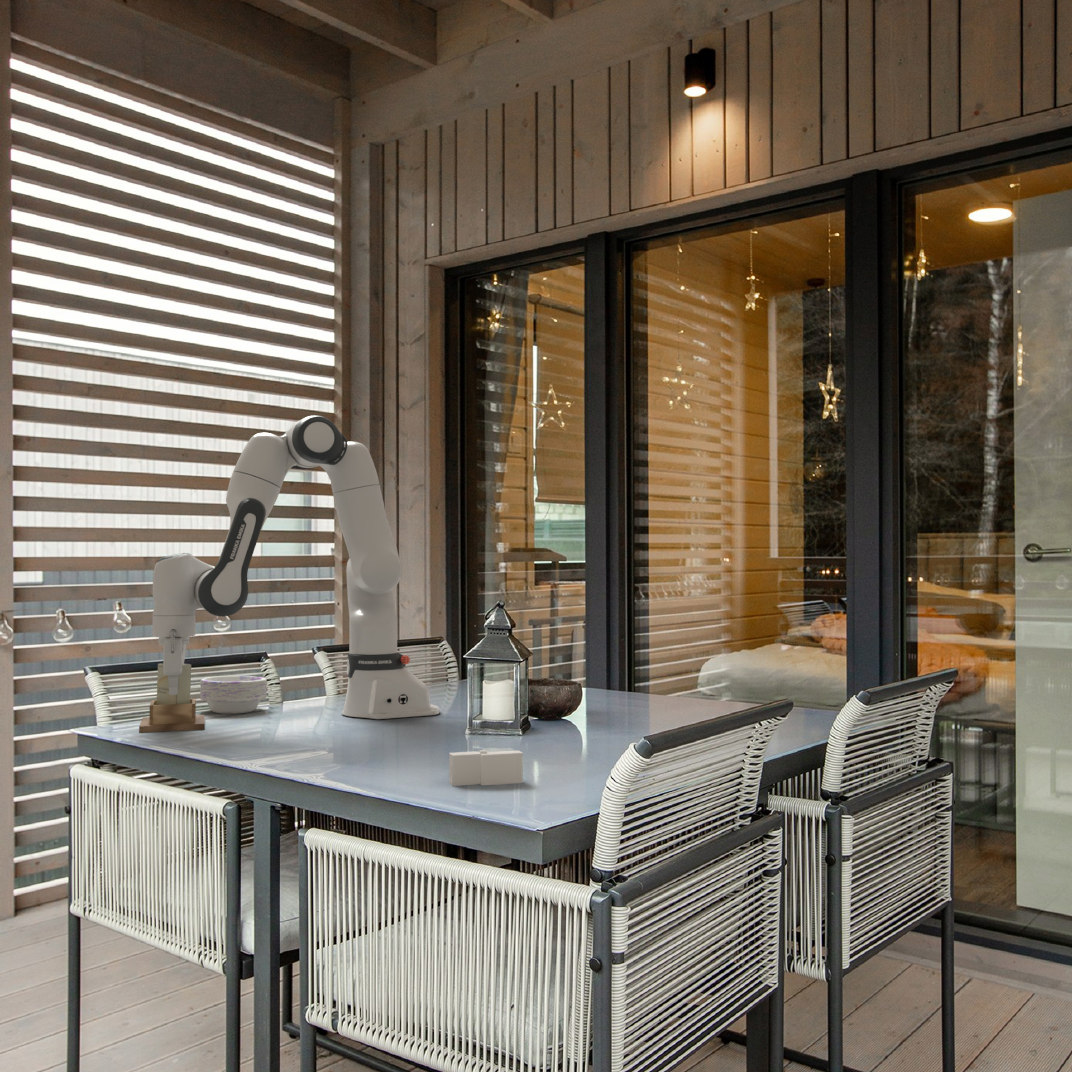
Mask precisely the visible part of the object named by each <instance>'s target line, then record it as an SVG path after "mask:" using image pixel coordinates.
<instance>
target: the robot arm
mask: <svg viewBox="0 0 1072 1072" xmlns="http://www.w3.org/2000/svg"><path fill="white" fill-rule="evenodd" d="M318 467H321V468H322V469H323V470H324V471H325V473H326V475H327V476H328V478H329V480H330V485H331V491H332V492H331V493H332V497H333V501H334V506H335V510H336V516H337V520H338V525H339V529H340V530H341V533H342V537H343V541H344V542H345V546H346V550H347V553H348V556H349V558H348V560H347V563H346V593H347V606H348V617H349V624H348V625H349V629H348V631H349V634H348V635H349V639H348V640H349V647H348V648H349V650H348V651H349V652H348V653H347V658H346V675H347V678H348V679H347V689H346V696H345V700H344V701H345V702H344V705H343V709H342V711H341V715H344V716H346V717H352V718H353V717H354V718H366V719H374V720H382V719H383V720H384V719H397V718H398V719H399V718H409V717H423V716H435V715H438V714H440V712H441V711H440V707H439V706H438V705H435V704H432V703H431V698H430V692H429V690H428V686H427V685H426V684H425V683H424V682H423V681H422V680H421V679H419V678H418V677H417V676H415V675H414V674H413V673H412V672H410V671H409V670H408V669H406V668H405V667H406V665H409V664H410V662H411V657H410V656H409V655H406V654H405V655H403V654H402V653H400V652H398V617H397V616H398V615H397V611H396V610H397V609H396V603H395V592H394V591H395V590H394V589H395V588H396V587H397V585H398V584H399V582H400V580H401V577H402V573H403V568H402V563H401V560H400V556H399V552H398V548H397V545H396V542H395V538H394V535H393V532H392V530H391V526H390V524H389V520H388V517H387V512H386V508H385V502H384V499H383V494H382V490H381V485H380V481H379V475H378V472H377V469H376V467H375V462H374V460H373V458H372V455H371V454H370V451H369V449H368V448H367V446H366V445H365V444H364V443H361V442H357V441H352V440H351V441H348V439H347V438H346V436H344V434H343V433H342V432H341V431H340V430H339V428H338V427H337V426H336V425H335V423H334V422H333V421H331V419H328V418H327V417H325V416H322V415H308V416H306V417H303V418H302V419H300V420H298V421H296V422H295V423H294V424H292V425H291V426H290V428H288V429H287V430H286V431H285V432H284V433H283V434H281V435H277V434H274V433H271V432H270V433H269V432H258V433H256V434H254V435H252V436H251V437H250V439H249V440H248V442H247V443H246V445H245V447H244V448H243V449H242V451H241V454H240V455H239V458H238V460H237V462H236V464H235V465H234V468H233V471H232V474H231V476H230V479H229V483H228V487H227V491H226V497H225V502H226V506H227V509H228V511H229V517H230V518H229V519H230V524H229V528H228V529H229V530H228V532H227V536H226V537H225V538H226V539H225V540H224V544H223V547H222V550H221V553H220V556H219V558H218V561H217V563H216V565H211V564H208V563H207V562H204V561H202V560H200V559H198V558H197V557H195V556H194V555H193V554H192V553H189V552H187V553H186V552H183V553H176V554H175V553H174V554H171V555H166V556H163V557H160V558H159V559H157V561H156V562H155V565H154V570H153V578H152V597H153V602H154V607H153V611H152V637H153V638H158V644H159V645H161V646H163V659H162V660H163V662H162V663H163V671H164V675H168V684H169V695H177V694H178V678H179V675H181V674H182V669H183V664H185V657H186V651H187V645H188V644H190V637H194V636H196V611H197V610H198V609H199V610H200V609H201V610H202V609H203V610H205V611H207V613H210V614H211V615H213V616H216V617H229V616H233V615H235V614H236V613H238V612H239V611H241V609H243V607H244V605H245V604H246V603H247V600H248V598H249V597H248V596H249V584H248V582H249V581H248V572H249V567H250V564H251V561H252V557H253V554H254V551H255V548H256V545H257V543H258V539H259V537H260V534H261V531H262V529H263V526H264V524H265V523H266V521H267V519H268V517H269V515H270V514H271V512H272V510H273V508H274V505H275V504H276V501H277V499H278V497H279V495H280V493H281V492H280V491H281V490H282V486H283V484H284V482H285V481H284V480H285V478H286V476H287V474H288V473H289V471H290V470H291V469H296V470H297V469H298V470H310V469H314V468H318Z"/></svg>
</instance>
